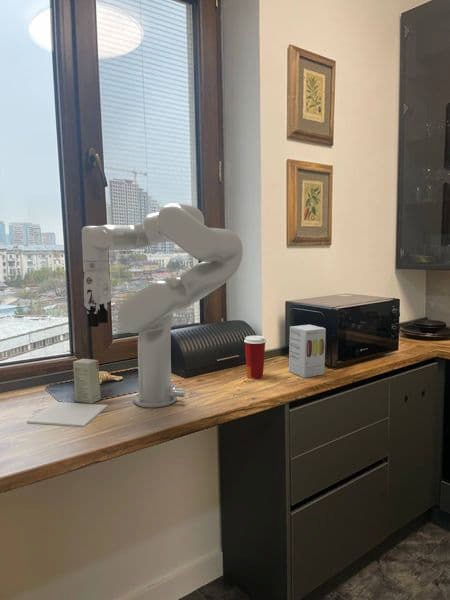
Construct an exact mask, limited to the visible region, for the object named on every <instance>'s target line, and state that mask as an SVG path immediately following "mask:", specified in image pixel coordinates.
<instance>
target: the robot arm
mask: <svg viewBox="0 0 450 600" xmlns="http://www.w3.org/2000/svg"><path fill="white" fill-rule="evenodd" d="M166 242H172V243H174V244H175V245H176V246H177V247H179V248H180V249H181V250H183V251H184V252H185V253H186V254H188V255H189V256H191V257H192V258H194V259H195V260H198V261H200V262H199V263H196V264H195V265H193V266H192V267H191V268H189V269H188V270H186V271H185V272H183V273H181V274H179V275H178V276H174V277H169V278H161V279H157V280H154V281H152V282H150V283H149V284H148V285H147V284H146V286H144V287H143V288H141V289H140V290H138V291H137V292H136V293H134V294H132V295H131V296H129V297H128V298H126V300H124V301H123V302H122V303H121V305H120V306H119V309H118V312H117V321H118V325H119V326H120V327H121V328H122V329H123V330H124V331H126V332H129V333H132V334H138V337H137V365H138V366H137V368H138V371H137V372H138V393H137V394H136V395H134V397H133V402H134V404H135V405H137V406H139V407H142V408H162V407H166V406H169V405H172V404H174V403H175V402H176V401H177V399H178V398H185V397H186V391H185V390H184V388H176V387H175V383H172V361H171V358H172V357H171V355H172V353H171V352H172V351H171V347H172V346H171V345H172V343H171V333H172V326H173V325H172V323H173V318H174V314H175V313H176V314H177V313H179V312H182V311H185V310H187V309H189V308H190V307H191V306H193V305H195V304H196V303H197V302H199V301H201V300H202V299H204V298H205V297H206V296H208V295H209V294H211V293H213V292H214V291H215V290H217V289H218V288H220V287H221V286H223V285H224V284H226V283H227V282H228V281H229V280H230V279H232V278H233V277H234V275H235V274H236V273H237V271H238V269H239V267H240V266H241V262H242V258H243V252H244V251H243V248H244V247H243V242H242V240H241V238H240V237H239V235H238V234H237V233H235V232H234V231H233V230H231V229H227V228H219V227H218V228H217V227H208V226H207V225H206V224H205V217H204V214H203V212H202V210H201V209H199V208H198V207H196V206H193V205H191V204H184V203H177V202H175V203H174V202H173V203H168V204H166V205H164V206H162V208H161V209H160V210H158V211H157V212H151V213H149V214H147V215H146V216H145V217H144V220H143V222H139V223H135V224H128V225H124V224H103V225H85V226H83V227H82V228H81V244H82V245H81V247H82V250H81V251H82V266H83V268H82V269H83V272H84V275H83V298H84V299H83V300H84V303H83V305H84V307H85V308H86V314H87V320H88V323H87V324H88V327H90V328H91V327H93V328H97V327H99V326H100V324H107V323H109V316H108V315H109V313H108V311H109V310H108V309H109V302H111V301H112V295H113V294H112V286H111V285H112V284H111V278H110V273H109V272H110V267H109V265H110V264H109V251H130V250H137V249H141V248H147V247H152V246H154V245H158V244H162V243H166Z"/></svg>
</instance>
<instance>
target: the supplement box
mask: <svg viewBox="0 0 450 600" xmlns="http://www.w3.org/2000/svg"><path fill="white" fill-rule="evenodd" d="M326 331H327V330H326V328H325V327H323V326H318V325H314V324H313V325H312V324H301V325H294V326H293V325H291V326H289V346H288V347H289V352H288V353H289V355H288V372H290V373H291V374H295V375H297V376H299V377H300V378H301V377H302V378H304V379H305V378H311V377H317V375H318V376H321V375H322V376H323V375H325V363H326V335H327V333H326Z"/></svg>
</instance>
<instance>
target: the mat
mask: <svg viewBox="0 0 450 600" xmlns="http://www.w3.org/2000/svg"><path fill="white" fill-rule="evenodd" d="M106 408H108V404H98V403H97V404H94V403H92V404H91V403H82V402H61V401H55V402H53V403H52V404H51V405H49V406H48V407H46V408H44V409H43V410H42V411H40V412H38V413H37V414H35V415H34V416H32V417H31V418H29V419H28V420H26V423H27V424H36V425H37V424H38V425H39V424H40V425H51V426H52V425H53V426H67V427H79V428H85V427H86V426H87V425H89V423H90V422H92V421H93V420H94V419H95V418H96V417H98V416H99V415H100V414H101V413H102V412H103V411H104V410H105V409H106Z"/></svg>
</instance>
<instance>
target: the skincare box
mask: <svg viewBox="0 0 450 600" xmlns="http://www.w3.org/2000/svg"><path fill="white" fill-rule="evenodd" d="M72 366H73V379H74V380H73V381H74V395H75V402H77V403H83V404H94V403H95V402H96V403H97V401H100V400H101V399H102V398H101V396H102V395H101V381H100V367H99V360H98V359H91V358H80V359H77V360H75V361H72Z"/></svg>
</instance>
